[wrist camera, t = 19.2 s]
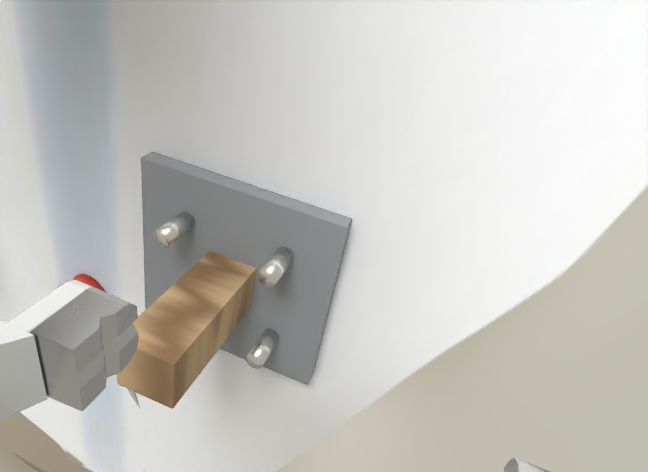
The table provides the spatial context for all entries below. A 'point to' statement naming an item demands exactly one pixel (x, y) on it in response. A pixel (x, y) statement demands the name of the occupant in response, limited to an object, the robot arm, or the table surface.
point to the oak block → (188, 327)
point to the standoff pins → (265, 276)
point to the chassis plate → (247, 254)
